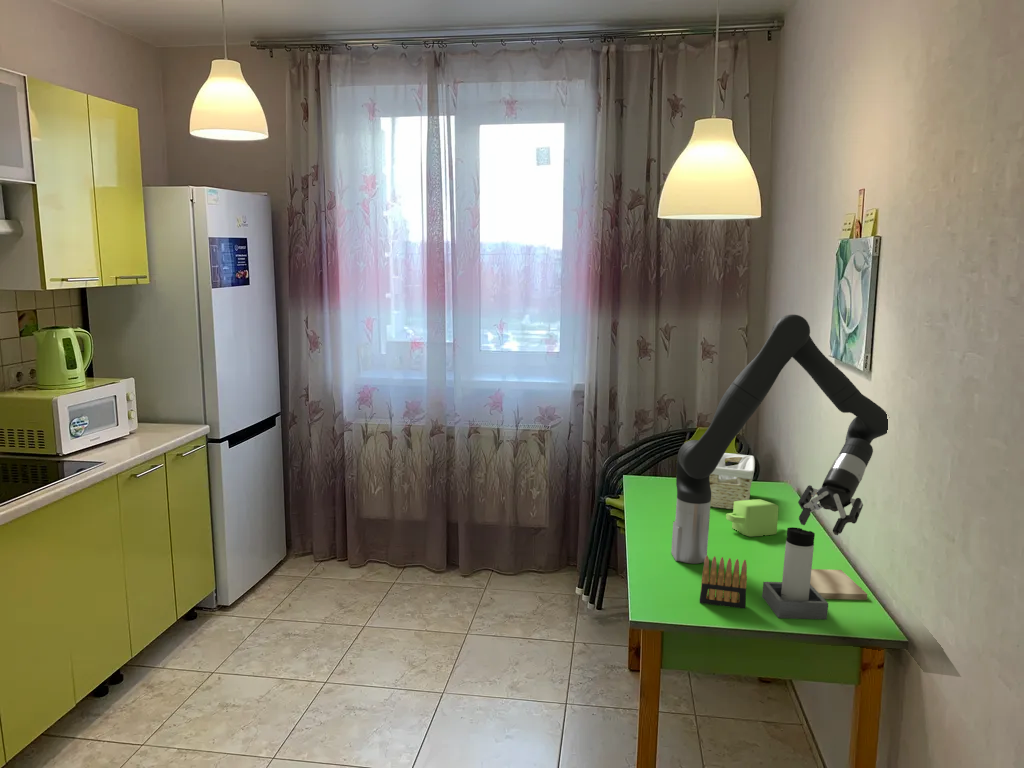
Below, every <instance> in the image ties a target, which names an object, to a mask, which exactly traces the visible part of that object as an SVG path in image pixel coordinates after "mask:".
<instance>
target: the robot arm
mask: <svg viewBox="0 0 1024 768" xmlns="http://www.w3.org/2000/svg"><path fill="white" fill-rule="evenodd" d="M810 334H811V326H810V323H809V322H808V321H807V319H806V318H805V317H803V316H801V315H800V314H786V315H784V316H782V317H780V318H779V319H778V320H777V321H776V322H775V323H774V325H773V326H772V328H771V333H770V335H769V336H768V338H767V340H766V341H765V343H764V344H763V346H762V347H761V349H760V351H759V352H758V353H757V354H756V355H755V357H754V358H753V359H752V360H751V361H750V362H749V363H748V364H747V365H746V366H745V367H744V368H743V369H742V371H740V372H739V374H738V375H737V376H736V378H735V379H734V380H733V381H732V382H731V384H730V385H729V386H728V388H727V389H726V391H725V392H724V394H723V395H722V397H721V399H720V401H719V403H718V405H717V407H716V409H715V412H714V415H713V418H712V419H711V422H710V424H709V426H708V428H707V429H706V430H705V432H704V433H703V434H702V435H701V437H700V438H699V439H692V440H691V439H690V440H688V441H686V442H684V443H682V445H681V446H680V448H679V450H678V453H677V460H676V476H675V477H676V479H675V480H676V481H675V484H676V486H675V487H676V494H677V495H676V505H675V507H676V508H675V518H674V519H675V520H674V521H673V522H672V535H671V536H672V537H671V552H670V553H671V555H672V557H673V559H674V561H676V562H681V563H686V564H702V563H703V564H704V561H705V558H706V556H708V546H709V545H708V543H709V531H710V517H711V516H710V515H711V507H712V506H711V488H710V480H709V478H710V474H711V473H712V472H713V471H714V470H715V468H716V467H717V465H718V463H719V462H720V460H721V458H722V456H723V455H724V453H726V451H727V449H728V448H729V446H730V444H731V443H732V441H733V440H734V439H735V438H736V437H737V435H738V434H739V433H740V432H741V430H742V429H743V428H744V426H745V425H746V424H747V422H748V421H749V420H750V419H751V417H752V415H754V413H755V412H756V411H757V409H758V408H759V407H760V406H761V404H762V402H763V401H764V399H765V398H766V396H767V395H768V393H769V392H770V390H771V389H772V387H773V385H774V384H775V382H776V381H777V379H778V377H779V374H780V373H781V371H782V370H783V369H784V367H785V366H786V365H787V364H788V363H789V361H791V359H792V358H793V360H794V361H796V362H797V363H798V364H799V365H800V366H801V367H802V368H803V370H804V371H805V372H806V373H807V374H808V375H809V376H810V378H812V380H813V381H814V383H815V384H816V385H817V386H818V387H819V389H821V391H822V392H823V394H825V396H826V397H827V398H828V399H829V401H830V402H831V403H832V404H833V405H834V406H835V407H836V409H837V410H838V411H839V412H841V413H844V414H845V413H847V414H848V413H850V414H852V415H854V416H855V417H854V418H853V420H852V421H851V422H850V424H849V425H848V428H847V430H846V431H847V432H846V434H845V435H846V436H845V442H844V444H843V446H842V447H841V449H840V452H839V453H838V456H837V457H836V458H835V460H834V462H832V465H831V466H830V468H829V471H828V472H827V475H825V478H824V480H823V482H822V485H821V487H820V488H819V489H816V488H814V487H813V486H812V485H807V487H806V488H805V490H804V491H803V493H802V495H801V497H800V498H799V499H798V502H797V503H798V505H799V507H800V509H801V512H800V514H799V516H798V520H799V522H800V525H802V526H805V525H806V524H807V522H808V520H809V517H811V514H812V512H814V511H819V510H821V509H824V510H829V511H832V512H835V513H836V512H838V513H839V517H838V519H837V520H836V523H835V524H834V526H833V528H832V533H833V534H834V535H836V536H838V535H839V534H841V533H842V532H843V531H844V528H845V526H846V525H847V524H848V523H851V524H856V523H857V521H858V520H859V517H860V514H861V513H862V510H863V506H864V503H863V501H862V499H861V498H860V497H856V498H853V497H854V495H855V493H856V491H857V489H858V487H859V484H860V483H861V482H862V480H863V477H864V475H865V472H866V468H867V467H868V465H869V462H870V461H871V458H872V456H873V453H874V448H873V446H872V445H871V443H872V442H873V440H875V439H877V438H880V437H883V436H885V435H886V434H888V433H887V430H888V419H887V414H888V413H887V412H886V410H884V409H883V408H882V407H881V406H880V405H878V404H877V403H875V402H874V401H873V400H872V399H871V398H868V397H867V396H866V395H864V394H862V392H860V390H859V389H858V388H857V387H856V385H855V384H854V383H853V382H852V381H851V380H850V378H849V377H848V376H847V375H846V374H844V372H842V370H841V369H839V368H838V366H836V365H835V364H834V363H833V362H832V361H831V360H830V359H829V358H828V357H826V355H824V353H823V352H822V351H821V349H819V348H818V346H817V345H816V344H815V342H814V340H813V339H812V337H811V335H810ZM886 413H887V414H886ZM850 505H851V506H852V507H851V509H850V512H849V514H847V513H846V510H845V508H847V507H849V506H850Z"/></svg>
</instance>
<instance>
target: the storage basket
mask: <svg viewBox="0 0 1024 768" xmlns="http://www.w3.org/2000/svg"><path fill="white" fill-rule="evenodd" d="M726 462H732V463H737V464H734V465H733V464H732V465H726ZM755 462H756V461H755V456H754V455H751V454H748V455H747V454H740V453H728V452H725V453H724V455H723V456H722V458H721V460H720V462H719V463H718V465H717V467H716V468H715V470H714V471H713V472H712V473H711V474H710V478H709V480H710V488H711V506H710V507H713V508H720V509H726V510H733V506H734V501H742V500H750V496H751V488H752V482H753V480H754V473H755V467H756V465H755V464H756V463H755Z"/></svg>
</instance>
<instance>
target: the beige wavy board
mask: <svg viewBox="0 0 1024 768" xmlns="http://www.w3.org/2000/svg"><path fill="white" fill-rule="evenodd" d="M810 584H811V585H812V587H813V588H814V589H815V590H816V591H817V592H818V593H819V594H820V595H821V596H822V597H823V598H824V599H825V600H857V601H858V600H859V601H863V600H865V601H866V600H868V593H867V592H866V591H865V590H864V589H862V587H860V586H859V584H857V583H856V582H855V581H854V580H853V579H852V578H851V577H850V576H848V575H847V573H845V572H844V571H843V570H842V569H820V568H819V569H818V568H812V570H811V580H810Z"/></svg>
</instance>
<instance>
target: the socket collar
mask: <svg viewBox="0 0 1024 768" xmlns="http://www.w3.org/2000/svg"><path fill="white" fill-rule="evenodd" d="M781 590H782V581H763V582H762V593H761V598H762V599H763V600H764V601H765V602H766V604H767V605H768V607H769V606H770V607H769V608H770V609H771V610H772V612H773V613H774V615H775V616H776V617H777V618H778V619H797V620H798V619H801V620H804V619H805V620H827V619H828V611H829V602H828V601H827V599H824V598H823V597H822V596H821V595H820V594H819V593H818V592H817V591H816V590H815V589H814V588H813V587H812V585H811V584H810V590H809V601H790V600H782V599H781Z"/></svg>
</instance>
